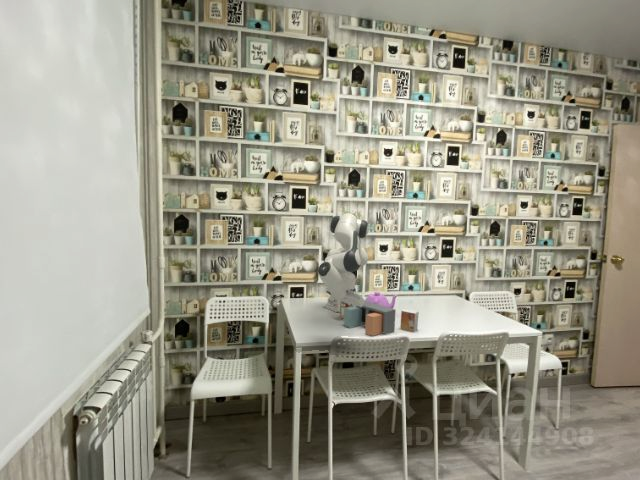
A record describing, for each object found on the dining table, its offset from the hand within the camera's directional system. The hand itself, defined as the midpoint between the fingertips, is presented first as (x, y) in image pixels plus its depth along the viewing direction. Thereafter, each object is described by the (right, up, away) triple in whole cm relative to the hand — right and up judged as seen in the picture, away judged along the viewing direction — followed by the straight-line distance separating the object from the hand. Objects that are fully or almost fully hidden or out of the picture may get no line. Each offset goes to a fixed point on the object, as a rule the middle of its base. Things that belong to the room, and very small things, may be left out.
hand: (353, 306), depth 202 cm
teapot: (+20, -13, +50) cm, 55 cm away
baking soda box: (0, -14, +38) cm, 40 cm away
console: (+12, -16, +23) cm, 30 cm away
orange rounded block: (+12, -16, +13) cm, 24 cm away
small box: (+32, -17, +21) cm, 42 cm away
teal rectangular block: (+2, -15, +25) cm, 29 cm away
